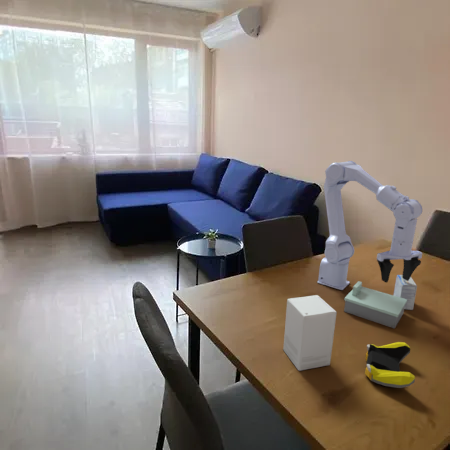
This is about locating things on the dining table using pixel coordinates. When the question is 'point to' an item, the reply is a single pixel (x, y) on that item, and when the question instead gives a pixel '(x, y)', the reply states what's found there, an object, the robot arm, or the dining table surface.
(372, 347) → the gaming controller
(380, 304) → the lid
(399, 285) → the medicine box
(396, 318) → the tub
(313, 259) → the dining table surface
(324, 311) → the supplement box
